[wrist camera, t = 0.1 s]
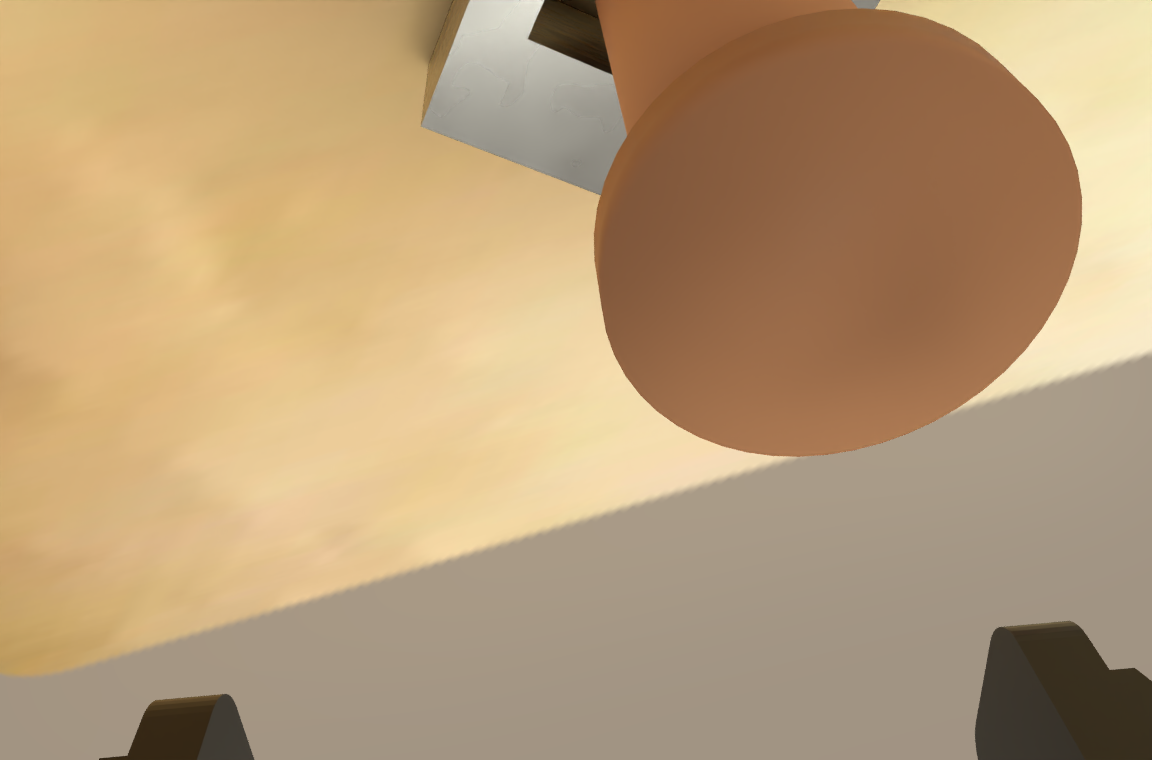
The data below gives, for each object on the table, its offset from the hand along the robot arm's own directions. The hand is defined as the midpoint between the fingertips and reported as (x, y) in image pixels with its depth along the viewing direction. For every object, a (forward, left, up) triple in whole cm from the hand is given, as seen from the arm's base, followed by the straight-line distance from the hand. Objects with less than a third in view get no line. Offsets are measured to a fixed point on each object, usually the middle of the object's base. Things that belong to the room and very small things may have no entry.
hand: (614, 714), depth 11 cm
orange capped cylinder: (-3, +2, -22) cm, 23 cm away
